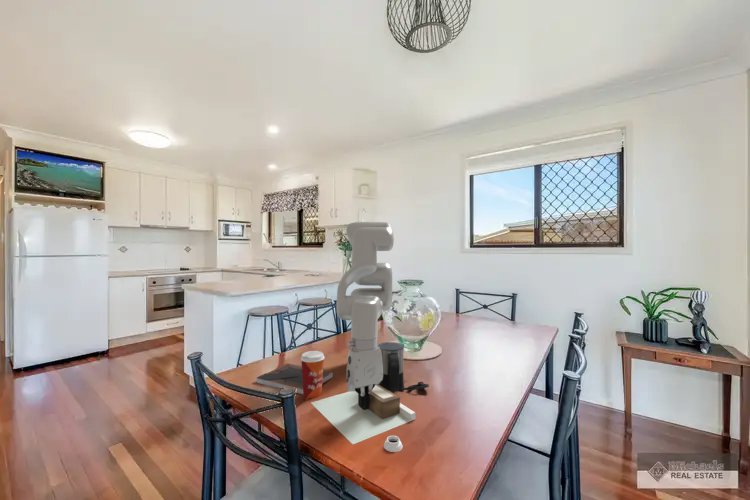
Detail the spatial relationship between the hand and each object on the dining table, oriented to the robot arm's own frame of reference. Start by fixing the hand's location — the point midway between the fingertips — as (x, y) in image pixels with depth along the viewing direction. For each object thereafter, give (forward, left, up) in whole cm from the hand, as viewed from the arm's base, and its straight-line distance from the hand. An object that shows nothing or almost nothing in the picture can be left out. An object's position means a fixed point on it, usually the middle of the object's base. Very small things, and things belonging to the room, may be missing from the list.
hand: (364, 407), depth 90 cm
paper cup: (+7, -20, -3) cm, 21 cm away
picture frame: (+7, -36, -4) cm, 37 cm away
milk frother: (-21, -7, -3) cm, 22 cm away
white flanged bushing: (+3, +17, -3) cm, 17 cm away
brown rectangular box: (-5, 0, -1) cm, 5 cm away
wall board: (0, -2, -3) cm, 3 cm away
